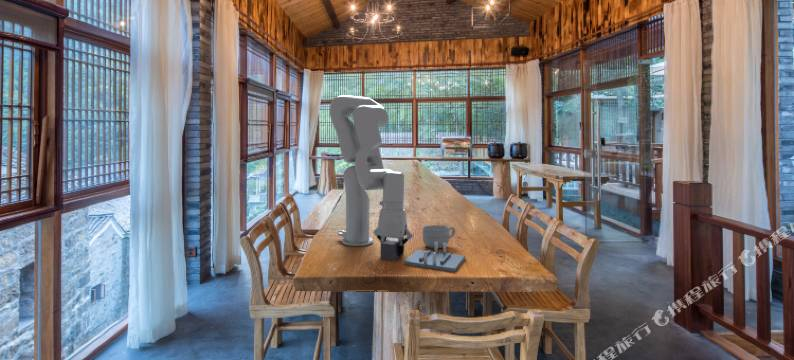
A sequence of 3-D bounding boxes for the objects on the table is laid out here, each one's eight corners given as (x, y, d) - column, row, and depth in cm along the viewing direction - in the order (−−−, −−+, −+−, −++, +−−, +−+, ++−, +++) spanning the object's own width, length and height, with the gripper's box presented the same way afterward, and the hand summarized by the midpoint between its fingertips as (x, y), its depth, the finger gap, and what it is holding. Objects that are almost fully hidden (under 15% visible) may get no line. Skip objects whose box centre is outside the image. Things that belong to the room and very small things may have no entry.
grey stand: (403, 264, 142) (404, 249, 141) (417, 252, 156) (418, 239, 155) (454, 271, 135) (455, 256, 135) (464, 258, 149) (465, 244, 148)
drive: (380, 259, 147) (380, 243, 146) (391, 252, 156) (391, 236, 155) (393, 261, 145) (393, 244, 144) (403, 254, 154) (403, 238, 153)
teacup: (425, 251, 158) (426, 230, 157) (418, 243, 168) (419, 224, 167) (460, 249, 161) (461, 229, 160) (451, 242, 171) (452, 223, 170)
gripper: (367, 205, 148) (366, 254, 150) (412, 209, 142) (410, 260, 144) (375, 202, 155) (375, 248, 157) (419, 205, 148) (417, 254, 151)
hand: (392, 253), depth 150 cm, fingers open, 5 cm apart
